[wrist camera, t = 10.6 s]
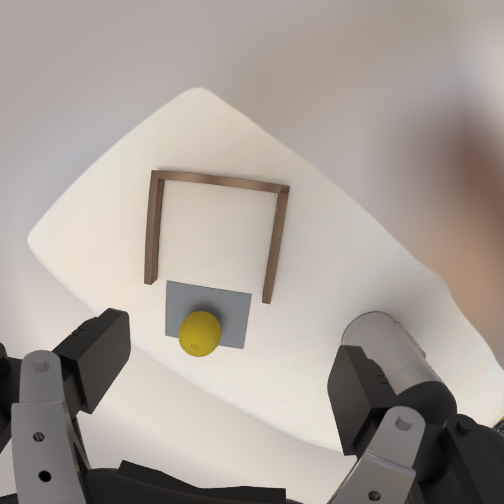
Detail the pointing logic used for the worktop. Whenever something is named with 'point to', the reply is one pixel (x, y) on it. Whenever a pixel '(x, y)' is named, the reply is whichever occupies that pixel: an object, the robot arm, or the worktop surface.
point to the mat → (208, 310)
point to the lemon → (199, 333)
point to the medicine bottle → (499, 426)
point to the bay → (159, 177)
